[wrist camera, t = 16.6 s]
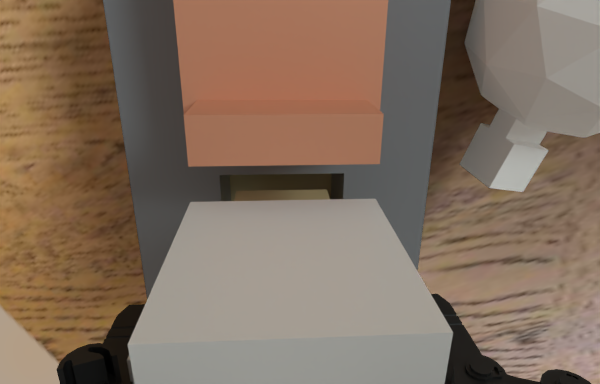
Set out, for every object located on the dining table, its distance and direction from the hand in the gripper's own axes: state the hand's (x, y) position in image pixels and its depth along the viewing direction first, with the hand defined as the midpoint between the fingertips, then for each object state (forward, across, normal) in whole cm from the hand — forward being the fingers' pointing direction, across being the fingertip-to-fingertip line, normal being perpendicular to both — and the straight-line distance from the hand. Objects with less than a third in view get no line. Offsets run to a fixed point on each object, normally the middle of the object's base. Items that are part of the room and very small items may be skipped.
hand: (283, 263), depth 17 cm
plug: (+3, 0, 0) cm, 3 cm away
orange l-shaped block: (+3, 0, +8) cm, 9 cm away
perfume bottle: (+8, +12, +8) cm, 16 cm away
